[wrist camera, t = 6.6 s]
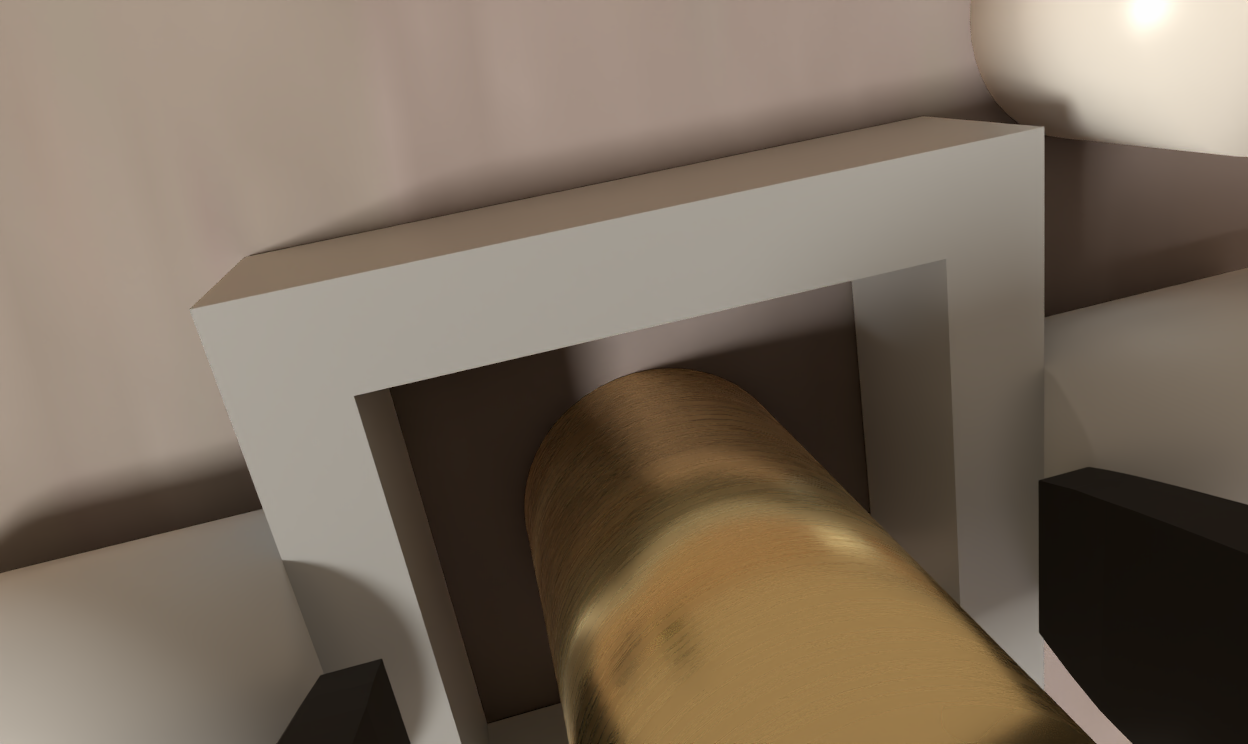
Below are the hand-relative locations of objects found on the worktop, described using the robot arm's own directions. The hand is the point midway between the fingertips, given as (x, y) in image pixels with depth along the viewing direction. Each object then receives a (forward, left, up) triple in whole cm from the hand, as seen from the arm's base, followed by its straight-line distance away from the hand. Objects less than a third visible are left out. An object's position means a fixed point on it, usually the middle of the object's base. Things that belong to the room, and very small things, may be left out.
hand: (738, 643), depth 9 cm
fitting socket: (0, 0, -4) cm, 4 cm away
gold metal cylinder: (0, 0, -4) cm, 4 cm away
